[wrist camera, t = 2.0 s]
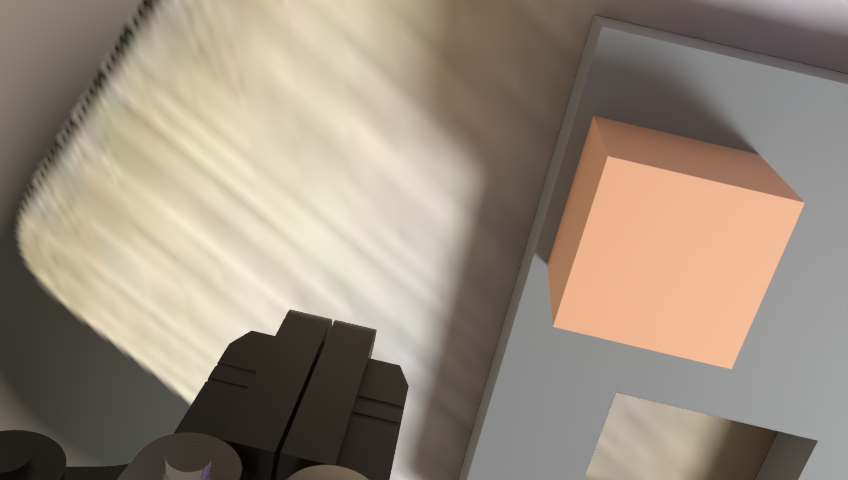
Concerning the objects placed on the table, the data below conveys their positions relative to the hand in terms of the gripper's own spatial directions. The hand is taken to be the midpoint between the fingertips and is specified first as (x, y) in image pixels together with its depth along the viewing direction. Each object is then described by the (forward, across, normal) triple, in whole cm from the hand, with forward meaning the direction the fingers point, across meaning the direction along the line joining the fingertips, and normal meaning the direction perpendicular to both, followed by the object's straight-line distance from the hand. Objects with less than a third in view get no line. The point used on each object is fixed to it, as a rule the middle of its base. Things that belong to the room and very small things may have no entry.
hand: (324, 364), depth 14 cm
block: (+12, -8, 0) cm, 14 cm away
